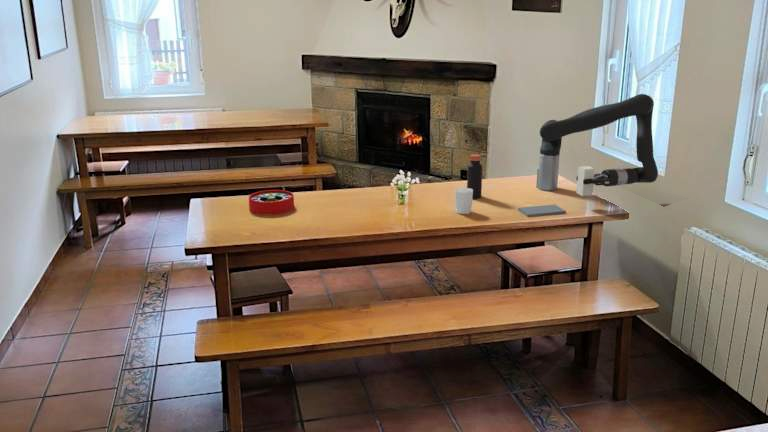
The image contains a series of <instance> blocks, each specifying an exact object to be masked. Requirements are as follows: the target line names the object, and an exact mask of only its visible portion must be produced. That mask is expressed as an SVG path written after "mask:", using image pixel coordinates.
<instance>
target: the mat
mask: <svg viewBox="0 0 768 432" xmlns="http://www.w3.org/2000/svg"><path fill="white" fill-rule="evenodd" d="M517 211H519V212H520V213H521V212H522V213H521V214H523V215H524V214H525V216H526V217H530V218H531V217H538V216H549V215H550V216H551V215H558V214H559V215H560V214H567V211H566V210H565V209H563V208H562V207H560V206H559V205H557V204H547V205H535V206H524V207H523V206H522V207H517Z"/></svg>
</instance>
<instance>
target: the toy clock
mask: <svg viewBox="0 0 768 432" xmlns="http://www.w3.org/2000/svg"><path fill="white" fill-rule="evenodd" d="M294 196H295V195H294V193H293V192H292V191H288V190H284V189H283V190H282V189H267V190H260V191H257V192H253V193H251V194H249V195H248V208H249V211H250V212H252V213H253V214H256V213H257V215H264V214H272V215H281V214H286V213H287V212H290V211H293V210H294V209H295V198H294Z"/></svg>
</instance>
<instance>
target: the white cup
mask: <svg viewBox="0 0 768 432" xmlns="http://www.w3.org/2000/svg"><path fill="white" fill-rule="evenodd" d="M472 197H473V190H472V189H470V188H467V187H458V188H455V189H454V205H455V213H456V214H460V215H468V214H470V213H472V206H473V198H472Z"/></svg>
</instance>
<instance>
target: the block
mask: <svg viewBox="0 0 768 432" xmlns="http://www.w3.org/2000/svg"><path fill="white" fill-rule="evenodd" d="M577 171H578V172H577V176H578V181H577V180H576V181H577V183H576V191H575V192H576V194H578V195H579V196H581V197H586V196H593V193H594V192H593V191H594V184H592V183H591V184H583V180H584V179H592V178H594V174H596V168H594V167H592V166H590V165H584V166H578V169H577Z"/></svg>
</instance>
